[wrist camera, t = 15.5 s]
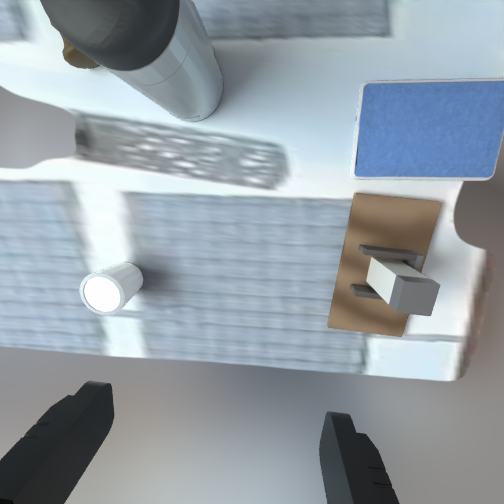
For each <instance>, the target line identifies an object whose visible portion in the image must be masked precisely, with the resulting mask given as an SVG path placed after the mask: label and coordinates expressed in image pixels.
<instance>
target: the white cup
mask: <svg viewBox="0 0 504 504" xmlns="http://www.w3.org/2000/svg"><path fill="white" fill-rule="evenodd" d="M142 284H143V276H142V273H141V271H140V270H139V268H138V267H136V266H135V265H134V264H131V263H128V262H124V263H119V264H116V265H113V266H111V267H108V268H105V269H102V270H100V271H97V272H94V273H92V274H90V275H88V276H86V277H85V278H84V279H83V281H82V282H81V284H80V295H81V298H82V301H83V302H84V304H85V305H86V306H87V308H89V309H90V310H92V311H93V312H94V313H97V314H100V315H113V314H115V313H117V312H119V311H120V310H121V309H122V308H123V307H124V305H125V304H126V303H127V302H128V301H129V300H130V299H131V298H132V297H133V296H134V295H135V294H136V292H137V291H138V290H139V289H140V288H141V286H142Z"/></svg>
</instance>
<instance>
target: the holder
mask: <svg viewBox="0 0 504 504" xmlns="http://www.w3.org/2000/svg"><path fill="white" fill-rule="evenodd" d="M441 204H442V202H435V201H426V200H417V199H407V198H398V197H388V196H379V195H369V194H360V193H354V196H353V201H352V206H351V211H350V216H349V221H348V226H347V231H346V235H345V240H344V245H343V250H342V255H341V260H340V265H339V270H338V275H337V280H336V284H335V289H334V294H333V299H332V304H331V309H330V314H329V319H328V324H327V325H328V328H335V329H343V330H350V331H358V332H366V333H374V334H381V335H389V336H397V337H402V335H403V331H404V328H405V325H406V321H407V318H408V315H409V314H406V313H397V312H395V311H394V310H393V309H392V308H391V306H390V305H389V304H388V303H387V302H386V301H385V300H384V299H383V298H382V297H381V296H380V295H379V294H378V293H377V292H376V291H375V290H374V289H373V288H372V287H371V286H370V285H369V284H368V283H367V282H366V279H367V275H368V270H369V266H370V261H371V257H379V258H388V259H398V260H400V261H402V262H403V263H405V264H407V265H408V266H410V267H411V268H413V269H415V270H416V271H418V272H420V273H421V271H422V268H423V264H424V261H425V258H426V254H427V251H428V247H429V244H430V241H431V237H432V234H433V231H434V227H435V224H436V221H437V217H438V214H439V210H440V207H441Z"/></svg>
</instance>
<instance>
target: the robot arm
mask: <svg viewBox="0 0 504 504" xmlns="http://www.w3.org/2000/svg"><path fill="white" fill-rule="evenodd" d="M40 1H41V3H42V6H43V8H44V10H45V12H46V14H47V15H48V17H49V19H50V20H51V22H52V23H53V25H54V26H55V27H56V28H57V30H58V31H59V32H60V33H61V35H62V36H63V37H64V38H65V39H66V40H67V41H68V42H69V43H71V44H72V45H73V46H74V47H75V48H77V49H78V50H79V51H81V52H82V53H83V54H85V55H86V56H88V57H89V58H91V59H92V60H93V61H95V62H96V63H98V64H99V65H101V66H102V67H104V68H105V69H107V70H108V71H109V72H111V73H112V74H114V75H115V76H117V77H118V78H120V79H121V80H123V81H124V82H126V83H127V84H129V85H130V86H131V87H133V88H134V89H136V90H137V91H139V92H140V93H142V94H143V95H145V96H146V97H147V98H149V99H150V100H152V101H153V102H155V103H156V104H158V105H159V106H161V107H162V108H163V109H165V110H166V111H168V112H169V113H170V114H172V115H173V116H175V117H177V118H179V119H181V120H184V121H188V122H195V121H199V120H203V119H205V118H206V117H208V116H209V115H210V114H212V113H213V112H214V110H215V109H216V108H217V106H218V104H219V102H220V100H221V97H222V93H223V79H222V74H221V71H220V68H219V66H218V63H217V61H216V59H215V57H214V48H213V46H212V44H211V41H210V39H209V37H208V34H207V32H206V30H205V27H204V25H203V23H202V20H201V18H200V16H199V13H198V11H197V9H196V6H195V4H194V3H193V1H191V0H40ZM113 419H114V406H113V394H112V386H111V384H110V383H103V382H95V381H88V382H86V383H85V384H84V385H83V386H82V387H81V388H80V389H79V391H78V392H77V393H76V394H75V395H74V396H71V395H68V396H66V397H65V398H63V399H62V400H60V401H59V402H57V403H56V404H54V405H53V406H51V407H50V408H49V410H48V411H47V412H46V413H45V414H44V415H43V416H42V417H41V418H40V419H39V420H38V421H37V423H36V425H33V426H32V427H31V428H30V429H29V431H28V432H27V433H26V434H25V436H24V437H23V438H21V439H20V440H19V441H18V442H17V443H16V444H15V445H14V447H12V449H10V451H9V452H8V453H7V454H6V455H5V456H4V457H3V458H2V459H1V460H0V504H64V503H65V502H66V500H67V498H68V497H69V495H70V494H71V492H72V491H73V489H74V487H75V486H76V484H77V483H78V481H79V479H80V478H81V476H82V475H83V473H84V471H85V470H86V468H87V467H88V465H89V464H90V462H91V460H92V459H93V457H94V456H95V454H96V452H97V451H98V449H99V448H100V446H101V444H102V443H103V441H104V440H105V438H106V436H107V435H108V433H109V431H110V429H111V427H112V424H113ZM319 447H320V448H319V455H320V464H321V470H322V476H323V481H324V487H325V493H326V498H327V504H399V501H398V499H397V497H396V494H395V491H394V489H392V484H391V481H390V479H389V476H388V474H387V473H386V470H385V466H384V464H383V461H382V459H381V456H380V454H379V451H378V449H377V448H376V447H375V445H374V444H373V443H372V441H371V440H370V439H369V437H368V436H367V435H366V434H363V433H356V430H355V427H354V424H353V422H352V419H351V416H350V415H349V414H345V413H337V412H329V411H328V412H327V413H326V416H325V421H324V425H323V430H322V434H321V439H320V446H319Z"/></svg>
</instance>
